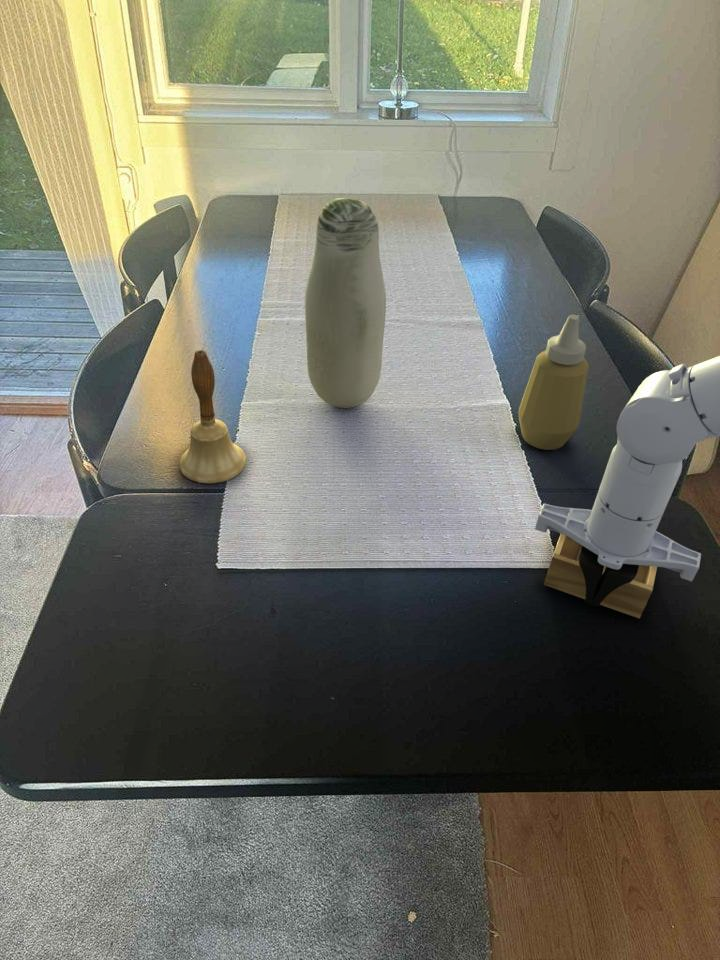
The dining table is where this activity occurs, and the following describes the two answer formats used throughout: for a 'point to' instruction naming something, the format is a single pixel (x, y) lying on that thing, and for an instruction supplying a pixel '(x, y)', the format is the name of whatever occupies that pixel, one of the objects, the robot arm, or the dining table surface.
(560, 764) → the dining table surface
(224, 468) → the hand bell
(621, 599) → the cutlery caddy
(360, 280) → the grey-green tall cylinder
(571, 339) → the squeeze bottle
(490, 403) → the dining table surface
